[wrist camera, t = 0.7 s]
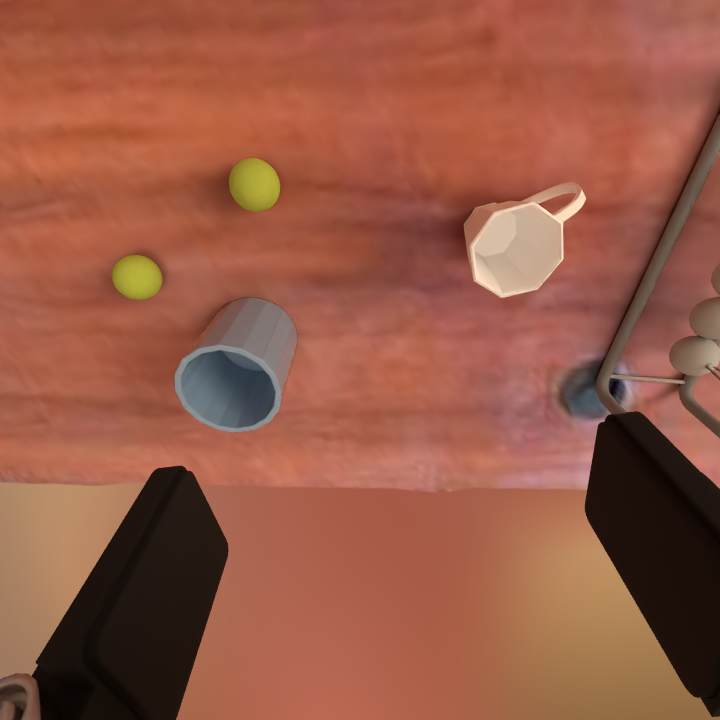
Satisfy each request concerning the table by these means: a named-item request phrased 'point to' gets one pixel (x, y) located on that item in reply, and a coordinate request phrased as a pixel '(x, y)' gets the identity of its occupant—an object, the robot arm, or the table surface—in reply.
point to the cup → (518, 241)
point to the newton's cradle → (707, 319)
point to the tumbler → (239, 366)
